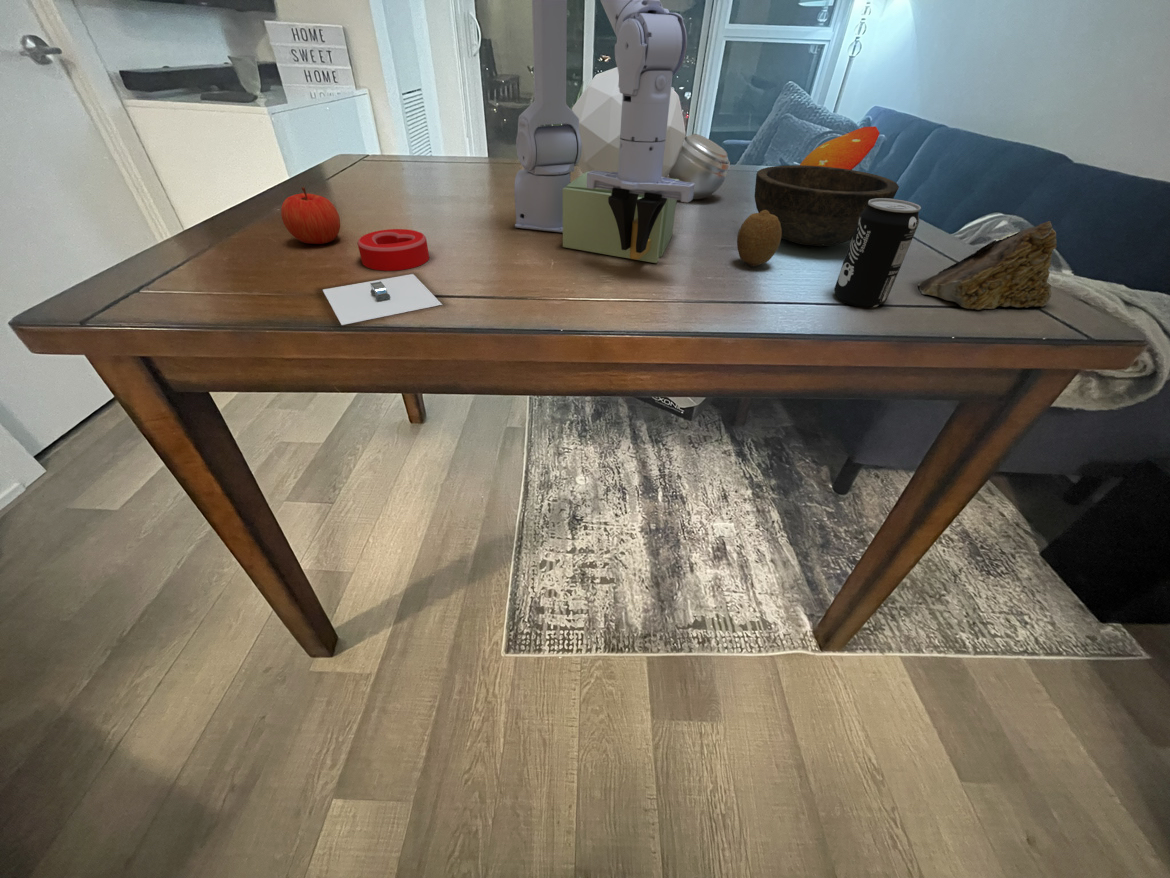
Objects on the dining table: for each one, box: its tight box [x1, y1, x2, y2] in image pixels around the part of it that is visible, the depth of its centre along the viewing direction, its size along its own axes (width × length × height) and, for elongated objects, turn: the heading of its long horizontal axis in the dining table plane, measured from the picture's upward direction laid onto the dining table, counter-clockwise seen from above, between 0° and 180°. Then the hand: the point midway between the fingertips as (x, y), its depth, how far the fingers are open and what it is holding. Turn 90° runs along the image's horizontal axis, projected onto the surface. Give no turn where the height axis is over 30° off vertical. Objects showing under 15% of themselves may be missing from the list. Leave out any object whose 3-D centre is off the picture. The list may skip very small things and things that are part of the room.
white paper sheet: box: [322, 273, 443, 326], centre depth 64 cm, size 12×12×2 cm
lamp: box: [571, 66, 731, 200], centre depth 104 cm, size 23×35×24 cm, turn 86°
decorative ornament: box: [357, 228, 430, 272], centre depth 74 cm, size 10×10×3 cm
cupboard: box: [566, 172, 679, 258], centre depth 82 cm, size 12×16×9 cm
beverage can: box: [833, 198, 922, 309], centre depth 64 cm, size 7×7×12 cm
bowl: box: [753, 164, 900, 247], centre depth 84 cm, size 22×22×10 cm
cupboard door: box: [562, 187, 665, 264], centre depth 74 cm, size 6×16×9 cm, turn 65°
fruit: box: [736, 210, 782, 267], centre depth 75 cm, size 6×6×8 cm
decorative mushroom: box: [799, 126, 880, 170], centre depth 102 cm, size 15×21×15 cm
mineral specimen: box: [917, 220, 1058, 310], centre depth 69 cm, size 12×13×15 cm
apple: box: [280, 186, 341, 245], centre depth 78 cm, size 8×8×8 cm
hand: (633, 249), depth 71 cm, fingers closed on cupboard door, 2 cm apart
